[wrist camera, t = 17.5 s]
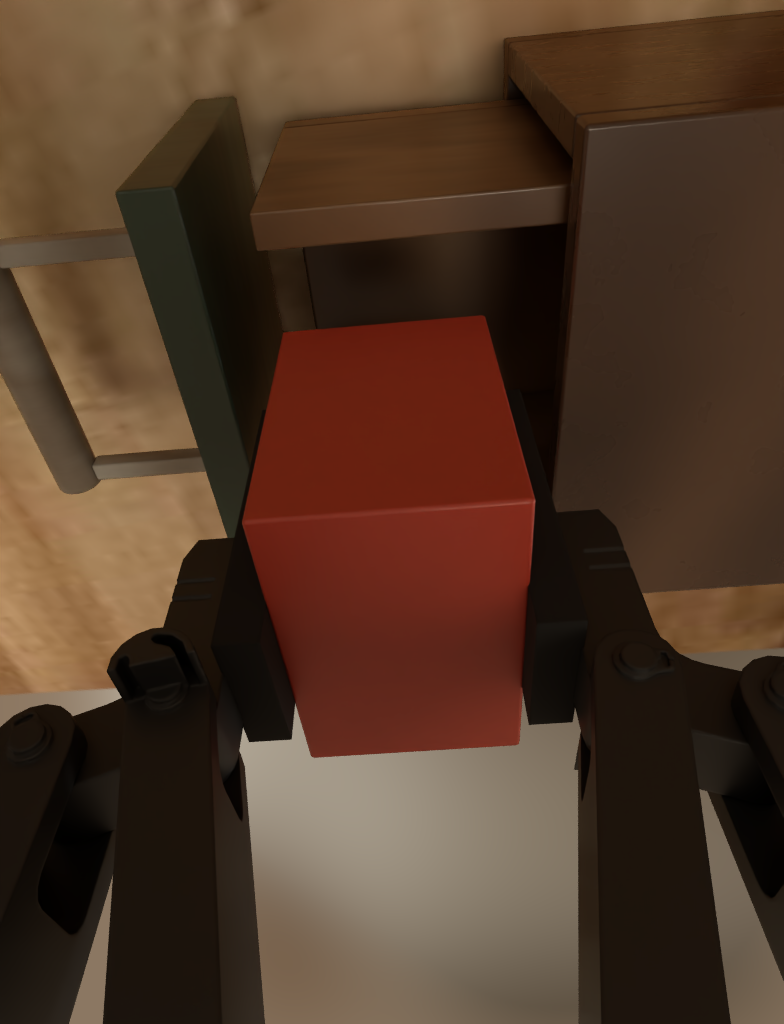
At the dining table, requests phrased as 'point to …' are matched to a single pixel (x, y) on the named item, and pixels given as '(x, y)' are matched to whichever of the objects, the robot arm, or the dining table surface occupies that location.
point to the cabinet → (670, 289)
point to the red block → (394, 536)
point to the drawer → (310, 265)
